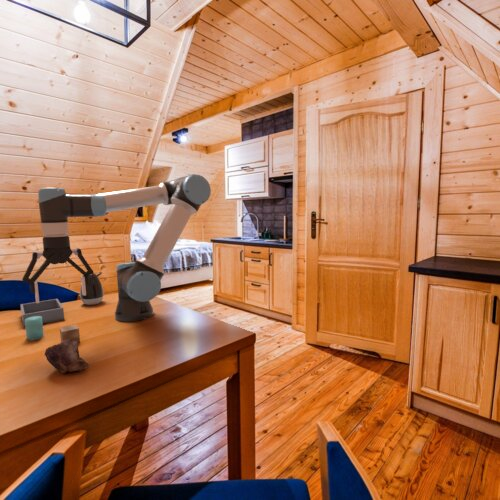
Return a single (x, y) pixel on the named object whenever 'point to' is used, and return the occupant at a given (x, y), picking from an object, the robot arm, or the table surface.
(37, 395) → the table surface
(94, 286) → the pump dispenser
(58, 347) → the rock
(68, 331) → the walnut cube
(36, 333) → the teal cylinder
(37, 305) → the tote
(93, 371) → the table surface
